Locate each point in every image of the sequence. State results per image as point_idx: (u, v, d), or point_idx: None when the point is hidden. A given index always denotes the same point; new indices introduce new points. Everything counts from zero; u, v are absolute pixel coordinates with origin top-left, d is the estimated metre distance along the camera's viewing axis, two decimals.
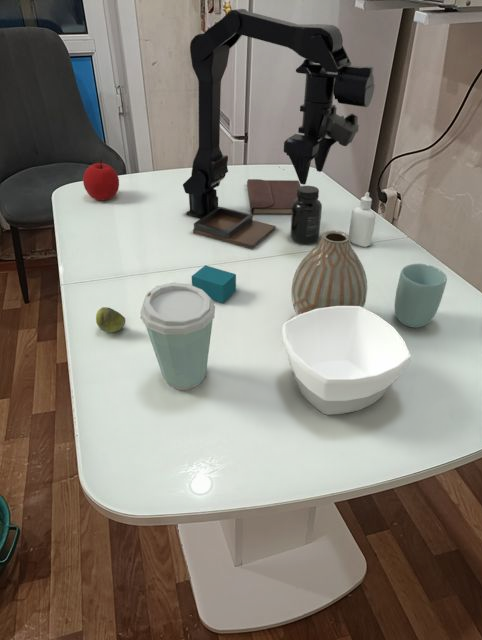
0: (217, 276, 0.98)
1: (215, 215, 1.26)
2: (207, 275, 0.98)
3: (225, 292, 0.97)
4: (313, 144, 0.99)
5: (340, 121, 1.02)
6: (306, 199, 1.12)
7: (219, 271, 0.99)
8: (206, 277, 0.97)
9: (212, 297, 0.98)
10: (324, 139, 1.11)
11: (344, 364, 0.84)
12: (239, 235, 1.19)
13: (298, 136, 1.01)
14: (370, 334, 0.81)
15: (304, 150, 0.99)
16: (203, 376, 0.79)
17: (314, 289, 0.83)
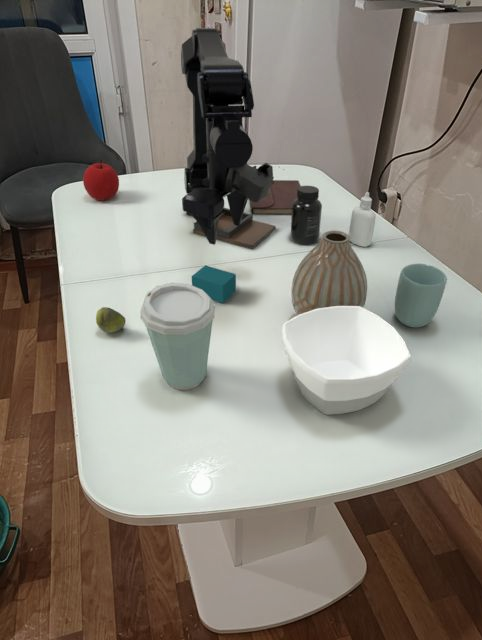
0: (217, 276, 0.98)
1: None
2: (207, 275, 0.98)
3: (225, 292, 0.97)
4: (215, 202, 0.83)
5: (250, 173, 0.86)
6: (306, 199, 1.12)
7: (219, 271, 0.99)
8: (206, 277, 0.97)
9: (212, 297, 0.98)
10: None
11: (344, 364, 0.84)
12: (239, 235, 1.19)
13: (199, 192, 0.85)
14: (370, 334, 0.81)
15: (204, 209, 0.83)
16: (203, 376, 0.79)
17: (314, 289, 0.83)
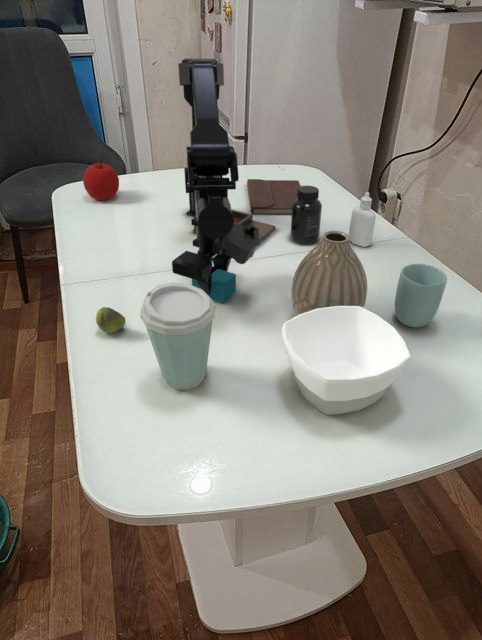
0: (217, 276, 0.98)
1: None
2: None
3: (225, 292, 0.97)
4: (202, 266, 0.88)
5: (236, 237, 0.90)
6: (306, 199, 1.12)
7: (219, 271, 1.00)
8: None
9: (212, 297, 0.98)
10: (223, 250, 0.98)
11: (344, 364, 0.84)
12: None
13: (188, 255, 0.90)
14: (370, 334, 0.81)
15: (192, 273, 0.88)
16: (203, 376, 0.79)
17: (314, 289, 0.83)
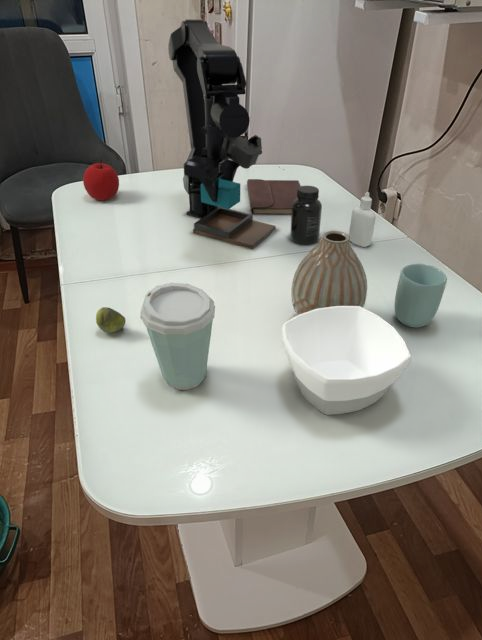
0: (224, 184, 1.09)
1: (215, 215, 1.26)
2: None
3: (230, 199, 1.08)
4: (211, 167, 0.99)
5: (241, 143, 1.01)
6: (306, 199, 1.12)
7: (225, 181, 1.10)
8: None
9: (219, 204, 1.09)
10: (229, 161, 1.09)
11: (344, 364, 0.84)
12: (239, 235, 1.19)
13: (198, 158, 1.01)
14: (370, 334, 0.81)
15: (202, 173, 0.99)
16: (203, 376, 0.79)
17: (314, 289, 0.83)
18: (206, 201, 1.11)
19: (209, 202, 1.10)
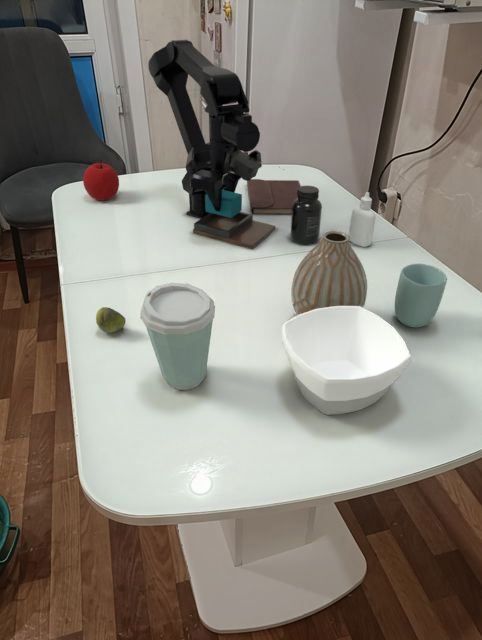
0: (226, 195, 1.18)
1: (215, 215, 1.26)
2: None
3: (233, 208, 1.17)
4: (215, 180, 1.08)
5: (242, 158, 1.11)
6: (306, 199, 1.12)
7: (228, 192, 1.20)
8: None
9: (222, 213, 1.18)
10: (231, 174, 1.18)
11: (344, 364, 0.84)
12: (239, 235, 1.19)
13: (203, 172, 1.10)
14: (370, 334, 0.81)
15: (207, 185, 1.08)
16: (203, 376, 0.79)
17: (314, 289, 0.83)
18: (210, 211, 1.20)
19: (213, 211, 1.19)
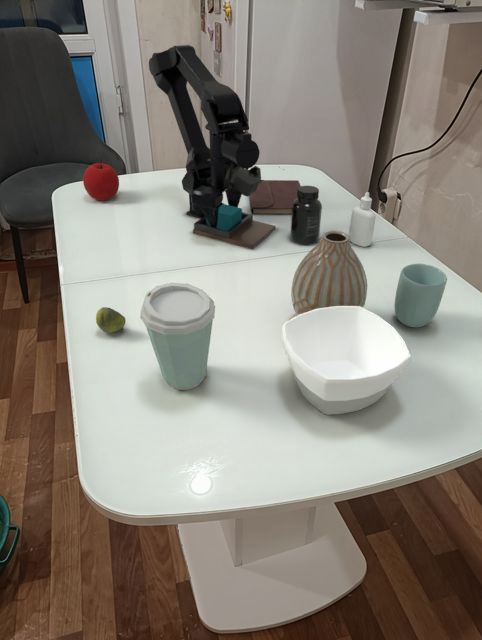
0: (227, 209, 1.20)
1: None
2: (218, 209, 1.20)
3: (233, 222, 1.19)
4: (216, 196, 1.10)
5: (242, 174, 1.13)
6: (306, 199, 1.12)
7: (228, 206, 1.22)
8: None
9: (222, 227, 1.20)
10: None
11: (344, 364, 0.84)
12: (239, 235, 1.19)
13: (204, 188, 1.12)
14: (370, 334, 0.81)
15: (208, 201, 1.10)
16: (203, 376, 0.79)
17: (314, 289, 0.83)
18: None
19: None
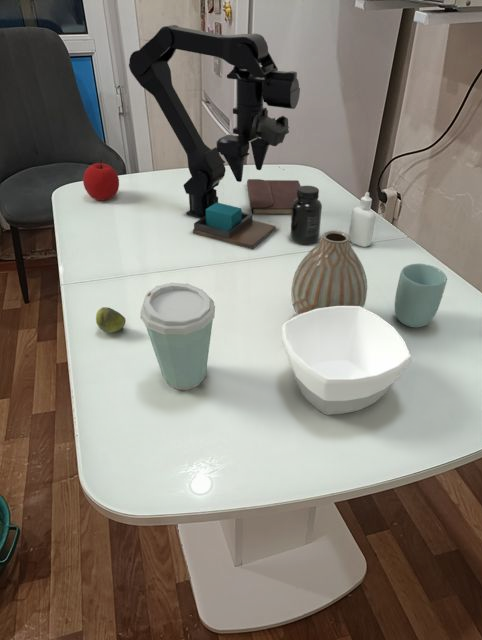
0: (227, 209, 1.20)
1: None
2: (218, 209, 1.20)
3: (233, 222, 1.19)
4: (242, 144, 1.07)
5: (270, 123, 1.09)
6: (306, 199, 1.12)
7: (228, 206, 1.22)
8: (217, 210, 1.20)
9: (222, 227, 1.20)
10: (261, 140, 1.19)
11: (344, 364, 0.84)
12: (239, 235, 1.19)
13: (230, 136, 1.09)
14: (370, 334, 0.81)
15: (234, 149, 1.07)
16: (203, 376, 0.79)
17: (314, 289, 0.83)
18: (211, 224, 1.22)
19: (213, 225, 1.21)
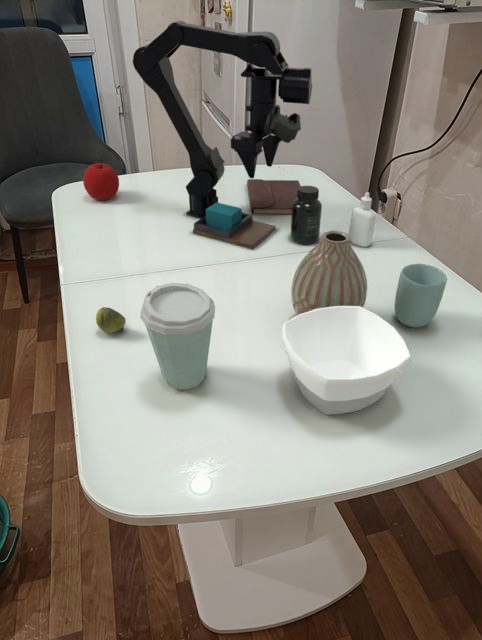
0: (227, 209, 1.20)
1: None
2: (218, 209, 1.20)
3: (233, 222, 1.19)
4: (256, 141, 1.08)
5: (283, 120, 1.11)
6: (306, 199, 1.12)
7: (228, 206, 1.22)
8: (217, 210, 1.20)
9: (222, 227, 1.20)
10: (272, 136, 1.20)
11: (344, 364, 0.84)
12: (239, 235, 1.19)
13: (244, 133, 1.10)
14: (370, 334, 0.81)
15: (248, 146, 1.08)
16: (203, 376, 0.79)
17: (314, 289, 0.83)
18: (211, 224, 1.22)
19: (213, 225, 1.21)
